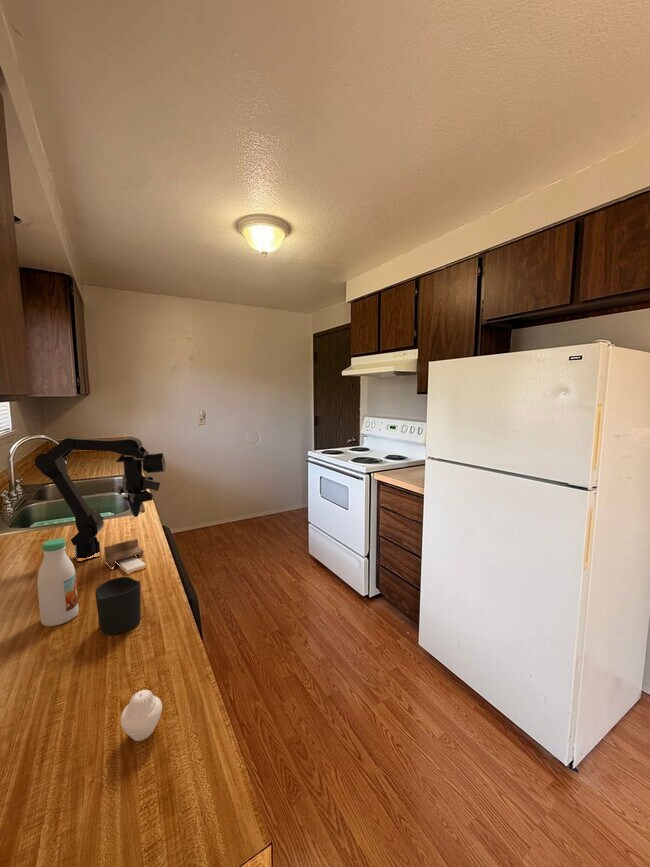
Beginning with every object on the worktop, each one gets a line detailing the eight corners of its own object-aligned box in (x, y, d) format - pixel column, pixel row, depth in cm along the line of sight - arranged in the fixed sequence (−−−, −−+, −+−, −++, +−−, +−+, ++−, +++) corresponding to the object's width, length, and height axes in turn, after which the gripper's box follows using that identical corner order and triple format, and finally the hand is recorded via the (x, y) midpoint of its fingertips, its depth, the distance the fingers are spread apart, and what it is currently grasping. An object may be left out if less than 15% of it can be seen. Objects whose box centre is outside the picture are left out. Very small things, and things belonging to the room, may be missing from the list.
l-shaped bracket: (110, 570, 115) (109, 552, 115) (105, 564, 119) (104, 547, 119) (143, 560, 122) (142, 543, 122) (137, 555, 126) (136, 538, 126)
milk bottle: (55, 630, 86) (48, 549, 84) (33, 623, 88) (25, 545, 86) (86, 612, 93) (80, 537, 91) (64, 606, 95) (58, 533, 93)
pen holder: (144, 610, 94) (142, 573, 93) (140, 631, 85) (137, 591, 84) (102, 618, 90) (100, 580, 89) (94, 641, 82) (90, 600, 81)
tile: (127, 576, 112) (127, 570, 112) (115, 564, 120) (114, 559, 120) (146, 569, 117) (145, 564, 116) (133, 559, 124) (132, 553, 124)
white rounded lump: (169, 715, 63) (167, 678, 62) (153, 749, 57) (151, 708, 56) (133, 716, 62) (130, 679, 62) (113, 750, 56) (110, 710, 56)
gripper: (167, 473, 125) (169, 517, 127) (148, 466, 139) (150, 506, 140) (132, 479, 118) (135, 525, 119) (115, 471, 131) (118, 512, 132)
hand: (135, 516), depth 128 cm, fingers closed
